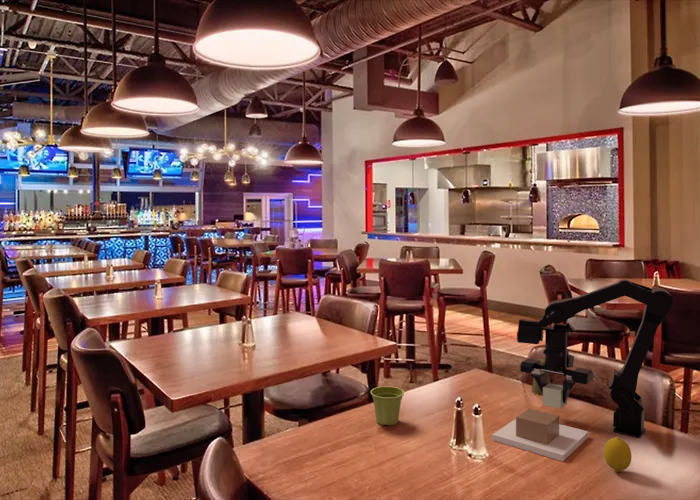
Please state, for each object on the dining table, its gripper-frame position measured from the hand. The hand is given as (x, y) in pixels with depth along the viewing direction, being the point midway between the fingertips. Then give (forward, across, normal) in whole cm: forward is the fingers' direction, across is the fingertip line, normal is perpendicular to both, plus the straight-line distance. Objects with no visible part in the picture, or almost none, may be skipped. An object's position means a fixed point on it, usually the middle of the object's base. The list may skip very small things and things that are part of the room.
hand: (554, 400), depth 150 cm
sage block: (+1, 0, 0) cm, 1 cm away
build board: (+6, -2, +15) cm, 16 cm away
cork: (+6, +12, -20) cm, 24 cm away
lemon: (+6, -22, +21) cm, 31 cm away
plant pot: (+6, +35, +32) cm, 48 cm away
